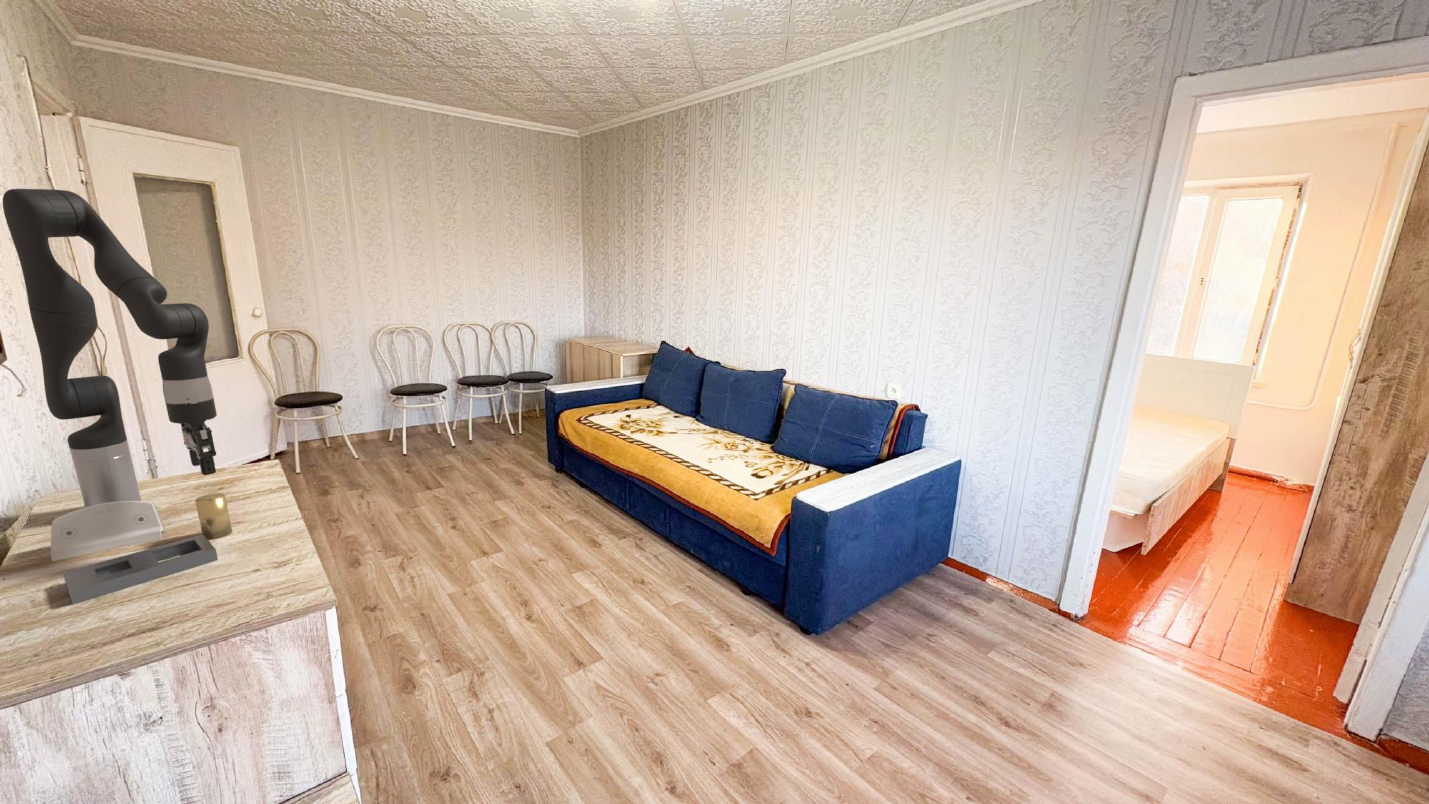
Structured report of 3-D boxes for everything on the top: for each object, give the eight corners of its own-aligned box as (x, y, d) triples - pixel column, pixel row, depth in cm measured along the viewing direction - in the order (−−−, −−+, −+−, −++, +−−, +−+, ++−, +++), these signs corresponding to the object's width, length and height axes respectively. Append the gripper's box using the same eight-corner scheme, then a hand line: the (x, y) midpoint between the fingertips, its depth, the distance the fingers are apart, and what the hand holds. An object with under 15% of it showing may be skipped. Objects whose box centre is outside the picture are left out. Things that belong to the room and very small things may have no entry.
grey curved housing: (48, 562, 111) (40, 513, 111) (55, 560, 114) (47, 513, 115) (164, 537, 122) (156, 494, 122) (166, 536, 125) (159, 494, 125)
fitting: (200, 534, 124) (192, 498, 121) (228, 527, 128) (221, 491, 125) (206, 541, 121) (198, 504, 119) (235, 533, 125) (228, 497, 123)
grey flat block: (65, 584, 104) (62, 572, 103) (205, 544, 120) (202, 534, 119) (72, 604, 98) (69, 592, 98) (217, 560, 114) (215, 549, 113)
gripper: (158, 395, 118) (173, 466, 121) (173, 406, 109) (189, 482, 113) (204, 390, 123) (217, 458, 127) (221, 400, 115) (235, 472, 119)
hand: (204, 469), depth 120 cm, fingers open, 8 cm apart
